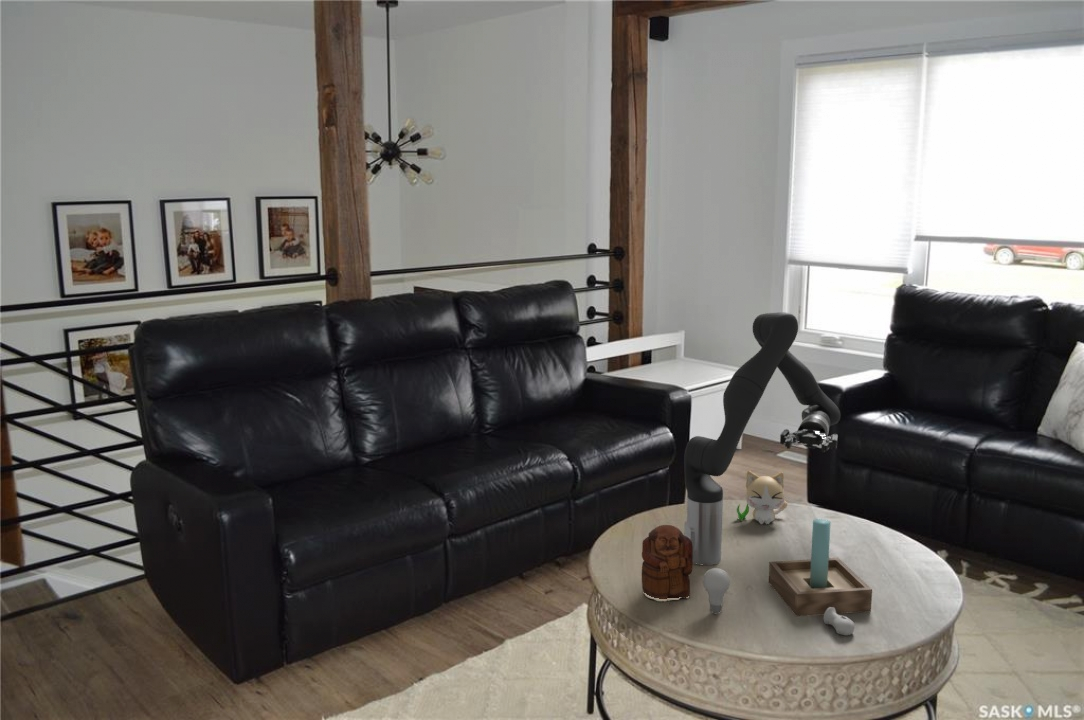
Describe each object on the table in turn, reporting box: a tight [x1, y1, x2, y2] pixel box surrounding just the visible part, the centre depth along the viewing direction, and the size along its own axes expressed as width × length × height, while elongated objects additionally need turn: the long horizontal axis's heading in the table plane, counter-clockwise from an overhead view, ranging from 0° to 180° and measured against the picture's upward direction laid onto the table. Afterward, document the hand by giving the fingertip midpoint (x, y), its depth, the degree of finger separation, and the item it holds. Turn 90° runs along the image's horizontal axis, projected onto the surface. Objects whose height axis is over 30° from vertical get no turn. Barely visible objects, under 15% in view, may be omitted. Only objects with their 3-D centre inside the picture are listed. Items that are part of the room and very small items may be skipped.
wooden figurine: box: [641, 524, 694, 599], centre depth 214 cm, size 12×6×18 cm, turn 98°
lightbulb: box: [702, 567, 731, 614], centre depth 206 cm, size 6×6×11 cm
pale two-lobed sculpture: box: [823, 607, 856, 636], centre depth 198 cm, size 4×8×5 cm
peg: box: [810, 518, 832, 589], centre depth 213 cm, size 4×4×19 cm
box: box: [768, 557, 873, 617], centre depth 214 cm, size 18×18×6 cm
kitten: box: [736, 470, 788, 525], centre depth 261 cm, size 15×10×15 cm, turn 80°
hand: (805, 446), depth 226 cm, fingers open, 8 cm apart
